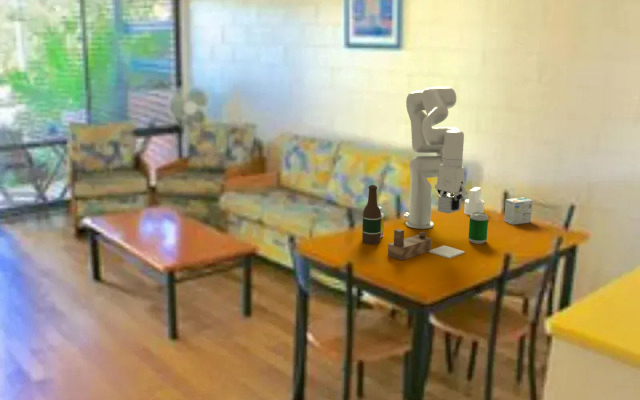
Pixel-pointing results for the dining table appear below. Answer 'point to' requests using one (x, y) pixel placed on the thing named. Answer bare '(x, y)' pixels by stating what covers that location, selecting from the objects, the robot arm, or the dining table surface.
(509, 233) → the dining table surface
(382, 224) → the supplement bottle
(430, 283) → the dining table surface
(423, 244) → the body
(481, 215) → the soda can
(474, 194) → the base with upright slab
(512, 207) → the light bulb box
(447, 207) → the grey stone box
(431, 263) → the dining table surface
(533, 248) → the dining table surface
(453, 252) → the felt pad
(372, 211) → the beer bottle
